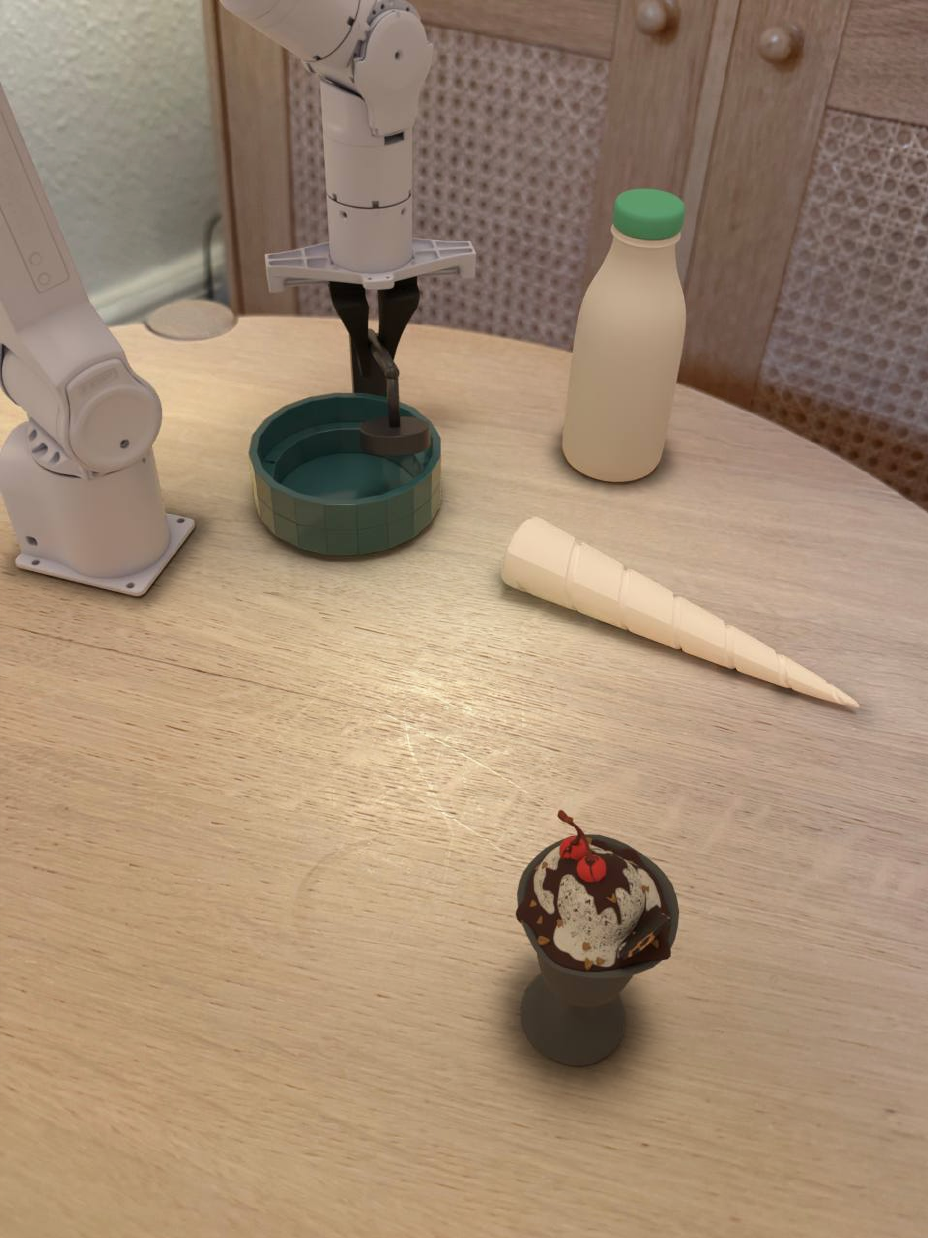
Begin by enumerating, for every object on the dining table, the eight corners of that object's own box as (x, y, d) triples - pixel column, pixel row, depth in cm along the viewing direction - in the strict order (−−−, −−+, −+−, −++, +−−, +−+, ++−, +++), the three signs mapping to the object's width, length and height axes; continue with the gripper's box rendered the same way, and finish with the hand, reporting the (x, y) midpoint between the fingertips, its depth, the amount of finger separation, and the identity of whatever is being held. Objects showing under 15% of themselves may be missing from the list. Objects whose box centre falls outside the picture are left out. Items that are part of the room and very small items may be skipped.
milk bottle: (666, 487, 81) (719, 229, 67) (563, 483, 81) (595, 224, 67) (655, 427, 86) (701, 178, 72) (558, 424, 86) (586, 173, 72)
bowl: (225, 538, 75) (216, 480, 72) (300, 434, 84) (295, 378, 81) (405, 579, 73) (404, 522, 69) (462, 467, 82) (464, 411, 78)
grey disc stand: (436, 453, 72) (434, 371, 70) (364, 459, 71) (359, 376, 69) (401, 395, 85) (398, 324, 83) (341, 399, 85) (336, 328, 82)
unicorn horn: (836, 753, 63) (859, 698, 60) (492, 593, 72) (495, 538, 69) (862, 702, 66) (886, 647, 63) (528, 555, 75) (533, 500, 72)
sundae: (493, 955, 53) (513, 769, 43) (627, 946, 54) (679, 761, 43) (508, 1090, 49) (534, 918, 38) (655, 1079, 49) (720, 907, 39)
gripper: (263, 223, 68) (282, 407, 77) (488, 209, 70) (480, 390, 80) (255, 177, 73) (274, 355, 82) (466, 166, 75) (460, 340, 85)
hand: (374, 369), depth 81 cm, fingers closed on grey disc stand
